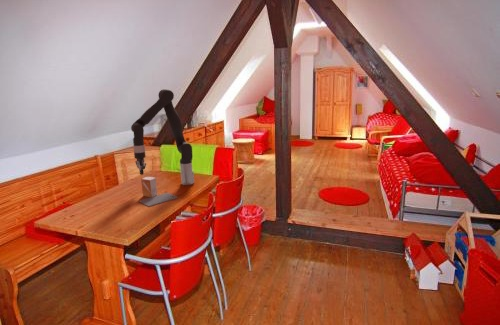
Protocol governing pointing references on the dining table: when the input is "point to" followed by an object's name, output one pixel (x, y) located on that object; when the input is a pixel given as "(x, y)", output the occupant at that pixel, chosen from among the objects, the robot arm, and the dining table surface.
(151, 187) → the small box
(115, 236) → the dining table surface
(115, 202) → the dining table surface
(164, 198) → the slate mat
